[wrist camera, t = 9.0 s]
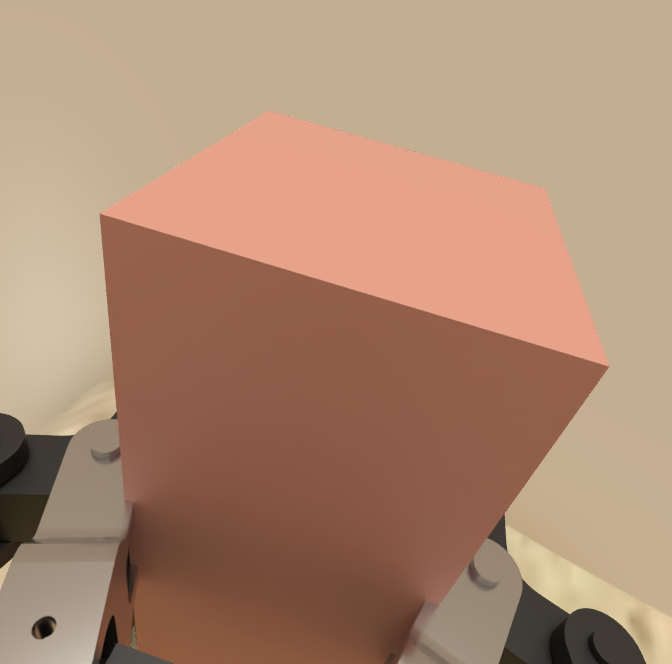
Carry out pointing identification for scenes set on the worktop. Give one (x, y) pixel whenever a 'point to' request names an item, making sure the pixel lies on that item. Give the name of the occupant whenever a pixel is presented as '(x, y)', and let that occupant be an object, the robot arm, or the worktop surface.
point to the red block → (329, 386)
